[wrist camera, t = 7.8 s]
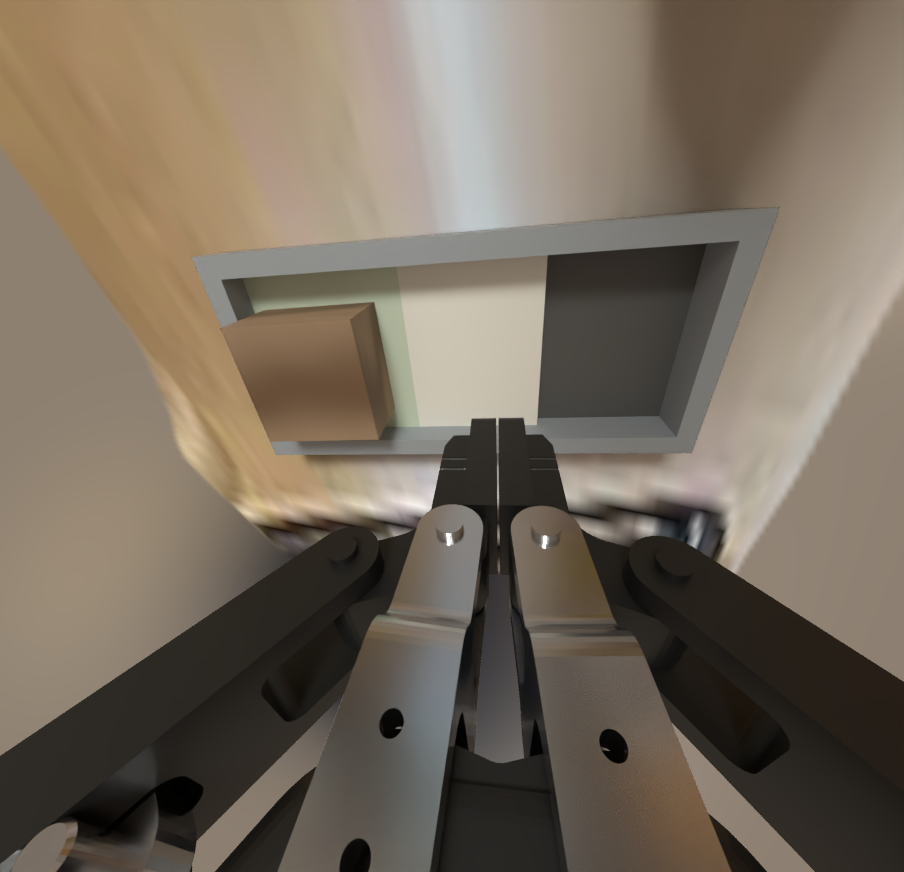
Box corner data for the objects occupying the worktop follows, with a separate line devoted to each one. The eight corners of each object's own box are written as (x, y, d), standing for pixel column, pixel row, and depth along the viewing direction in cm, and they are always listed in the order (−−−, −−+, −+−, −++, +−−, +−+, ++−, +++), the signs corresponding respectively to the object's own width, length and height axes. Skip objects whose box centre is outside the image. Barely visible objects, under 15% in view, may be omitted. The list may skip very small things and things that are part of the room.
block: (264, 309, 18) (220, 328, 15) (374, 302, 17) (349, 319, 14) (300, 410, 21) (270, 442, 18) (395, 407, 20) (378, 439, 18)
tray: (227, 252, 18) (191, 257, 16) (739, 208, 15) (780, 207, 13) (295, 433, 24) (276, 454, 21) (671, 428, 21) (691, 452, 18)
